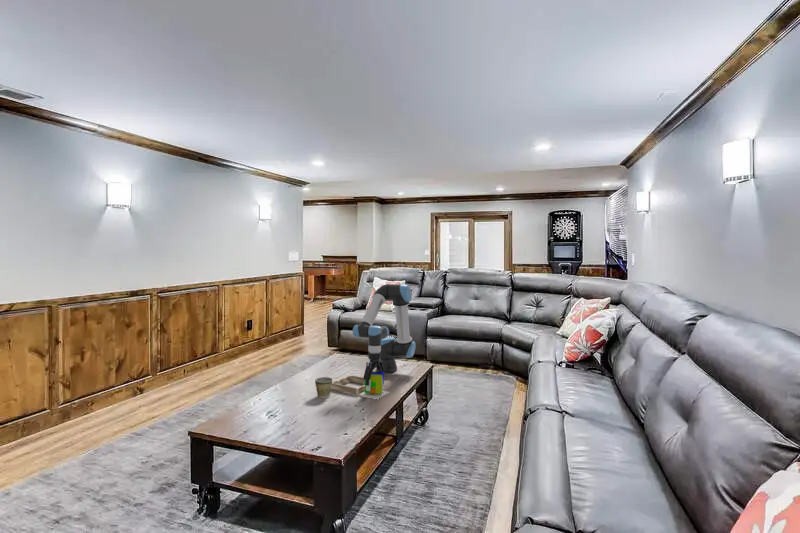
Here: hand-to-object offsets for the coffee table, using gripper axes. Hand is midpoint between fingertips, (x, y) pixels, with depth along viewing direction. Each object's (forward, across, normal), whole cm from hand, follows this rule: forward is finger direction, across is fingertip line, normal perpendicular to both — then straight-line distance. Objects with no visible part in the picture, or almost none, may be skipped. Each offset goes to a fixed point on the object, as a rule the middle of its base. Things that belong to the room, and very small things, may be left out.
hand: (374, 387), depth 258 cm
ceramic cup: (+4, +17, -24) cm, 30 cm away
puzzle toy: (+2, 0, 0) cm, 2 cm away
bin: (+4, -4, -18) cm, 19 cm away
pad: (+4, 0, 0) cm, 4 cm away
